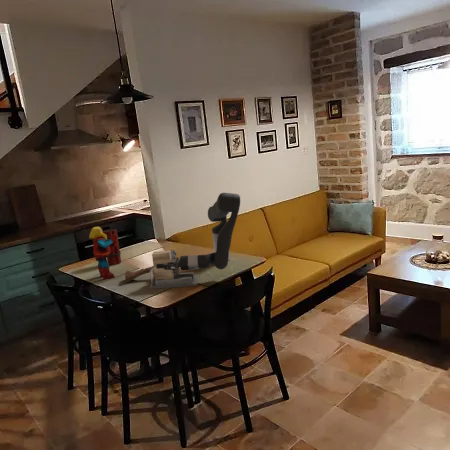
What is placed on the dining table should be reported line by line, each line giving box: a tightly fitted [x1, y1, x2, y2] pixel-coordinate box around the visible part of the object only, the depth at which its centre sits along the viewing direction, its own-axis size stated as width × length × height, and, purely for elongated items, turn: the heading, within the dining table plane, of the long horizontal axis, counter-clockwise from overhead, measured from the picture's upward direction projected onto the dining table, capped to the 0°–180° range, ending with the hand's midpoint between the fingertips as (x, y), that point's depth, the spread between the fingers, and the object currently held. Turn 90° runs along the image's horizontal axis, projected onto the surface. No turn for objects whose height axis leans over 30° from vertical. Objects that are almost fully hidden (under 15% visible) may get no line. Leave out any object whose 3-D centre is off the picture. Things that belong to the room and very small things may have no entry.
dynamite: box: [102, 218, 122, 266], centre depth 257 cm, size 10×9×30 cm
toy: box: [88, 226, 117, 281], centre depth 230 cm, size 15×15×30 cm
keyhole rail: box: [149, 268, 200, 290], centre depth 213 cm, size 14×24×8 cm, turn 87°
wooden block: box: [151, 250, 174, 280], centre depth 212 cm, size 4×9×16 cm, turn 87°
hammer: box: [124, 249, 181, 283], centre depth 223 cm, size 15×10×30 cm
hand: (157, 264), depth 212 cm, fingers open, 4 cm apart
